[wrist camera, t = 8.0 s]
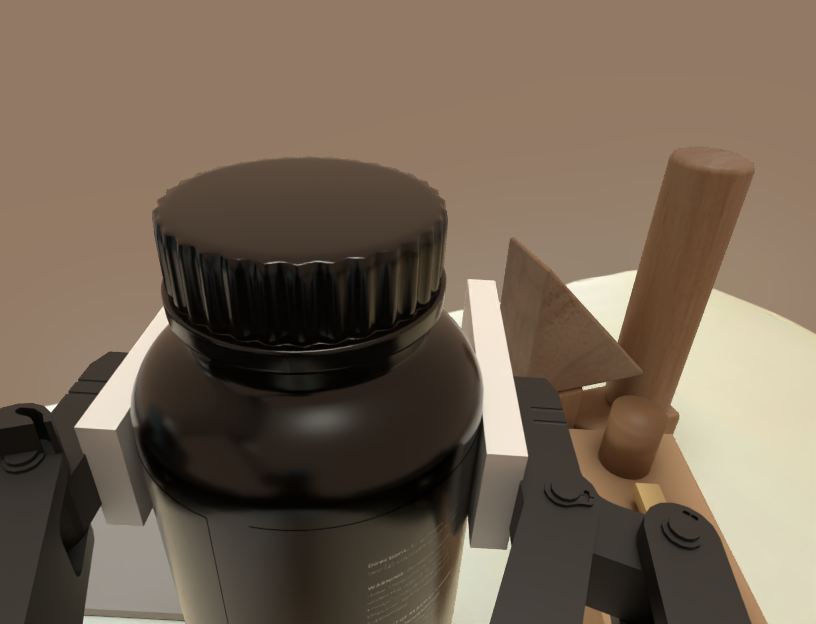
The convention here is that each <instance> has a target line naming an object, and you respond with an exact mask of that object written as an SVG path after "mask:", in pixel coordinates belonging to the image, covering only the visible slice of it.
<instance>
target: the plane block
mask: <svg viewBox="0 0 816 624" xmlns="http://www.w3.org/2000/svg"><path fill="white" fill-rule="evenodd" d="M667 423H668V416H667V414H666V412H665V411H664V410H663V409H662V408H661V407H660V406H659V405H658V404H656V403H655V402H653V401H651V400H649V399H646V398H643V397H640V396H633V395H627V396H621V397H619V398H617V399H616V400H615V401H614V402H613V404H612V408H611V411H610V414H609V418H608V421H607V425H606V428H605V431H601V430H582V429H569V432H570V435H571V439H572V442H573V446H574V450H575V453H576V457H577V460H578V464H579V467H580V471H581V473H582V476H583V477H585V478H586V479H587V480H588V481H589V482H590V483H592V485H593V486H594V488H595V490H596V491H597V493H598V494H599V496H601V497H602V498H604V499H606V500H607V501H609V502H611V503H614V504H616V505H619V506H621V507H624V508H628V509H631V510H634V511H637V512H640V513H643V514H646V512H647V511H648V509H649V508H650V507H651V506H653V505H656V504H658V503H677V504H680V505H683V506H687V507H689V508H691V509H693V510H694V511H696V512H698V513H700V514H701V515H702V516H704V517H705V518H706V519H707V520H708V521H709V522H710V523H711V524H712V525H713V526H714V528H715V530H716V531H717V533H718V535H719V536H720V538H721V541H722V544H723V547H724V549H725V552H726V555H727V558H728V560H729V563H730V566H731V569H732V571H733V574H734V577H735V579H736V582H737V585H738V588H739V590H740V593H741V596H742V599H743V601H744V604H745V607H746V609H747V612H748V615H749V618H750V620H751V623H752V624H768V623H767V621H766V619H765V617H764V616H763V614H762V612H761V610H760V608H759V606H758V604H757V602H756V600H755V598H754V596H753V594H752V592H751V590H750V588H749V586H748V584H747V582H746V580H745V578H744V576H743V574H742V572H741V570H740V568H739V566H738V564H737V562H736V560H735V558H734V556H733V554H732V552H731V550H730V548H729V546H728V544H727V542H726V540H725V538H724V536H723V534H722V532H721V530H720V528H719V526H718V524H717V522H716V520H715V518H714V516H713V514H712V512H711V510H710V508H709V506H708V504H707V502H706V500H705V498H704V496H703V494H702V492H701V490H700V489H699V487H698V485H697V483H696V481H695V479H694V477H693V475H692V473H691V471H690V469H689V467H688V465H687V463H686V461H685V459H684V457H683V455H682V453H681V451H680V449H679V447H678V445H677V443H676V441H675V439H674V437H673V435H672V434H664V431H665V429H666V426H667ZM583 624H611V618H610V615H608V614H606V613H603V612H600V611H598V610H595V609H593V608H590V607H587V606H585V611H584V618H583Z"/></svg>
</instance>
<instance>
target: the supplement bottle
mask: <svg viewBox="0 0 816 624" xmlns="http://www.w3.org/2000/svg"><path fill="white" fill-rule="evenodd" d="M152 220H153V227H154V235H155V241H156V246H157V251H158V256H159V260H160V266H161V270H162V275H163V280H162V284H161V295H162V301H163V305H164V310H165V314H166V317H167V320H168V323H169V324H168V325H167V326H166V327H165V328H164V329H163V331H162V332H161V333H160V334H159V335H158V336H157V338H156V339H155V341H154V342H153V343H152V345H151V346H150V348H149V350H148V351H147V353H146V355H145V357H144V359H143V361H142V363H141V365H140V368H139V371H138V373H137V376H136V379H135V382H134V386H133V391H132V395H131V409H130V415H131V423H132V430H133V435H134V439H135V445H136V449H137V453H138V456H139V460H140V463H141V467H142V471H143V474H144V478H145V481H146V485H147V488H148V492H149V496H150V499H151V503H152V506H153V510H154V513H155V517H156V520H157V524H158V527H159V531H160V535H161V538H162V542H163V545H164V549H165V552H166V556H167V559H168V563H169V566H170V570H171V574H172V577H173V581H174V584H175V588H176V591H177V595H178V598H179V602H180V606H181V609H182V613H183V616H184V620H185V623H186V624H451V622H452V616H453V611H454V605H455V599H456V592H457V586H458V579H459V572H460V565H461V558H462V551H463V545H464V538H465V531H466V524H467V517H468V510H469V503H470V496H471V490H472V483H473V476H474V469H475V463H476V456H477V449H478V442H479V436H480V429H481V422H482V419H481V418H482V410H483V392H484V387H483V379H482V373H481V369H480V365H479V362H478V359H477V357H476V355H475V352H474V350H473V348H472V346H471V344H470V342H469V340H468V339H467V337H466V335H465V334H464V332H463V331H462V329H461V328H460V327H459V326H458V324H457V323H456V322H455V320H454V319H453V318H452V317H451V316H450V315H449V314H448V313H447V312H446V311H445V310H444V309H443V306H444V300H445V291H446V273H445V270H444V260H445V248H446V238H447V224H448V218H447V211H446V206H445V200H444V199H443V198H441V197H440V196H439V194H438V190H436V189H434V188H432V187H430V186H429V184H428V183H427V182H426V181H423V180H420V179H418V178H416V177H415V176H414V175H412V174H409V173H405V172H401V171H399V170H398V169H396V168H391V167H385V166H382V165H379V164H376V163H368V162H362V161H358V160H350V159H339V158H333V157H330V158H329V157H324V158H320V157H283V158H277V159H261V160H256V161H249V162H240V163H236V164H233V165H228V166H222V167H217V168H215V169H213V170H211V171H206V172H202V173H198V174H197V175H195V176H194V177H192V178H188V179H185V180H182V181H181V182H180V183H179V184H178V185H177V186H175V187H172V188H170V189H168V190H167V191H166V195H164V196H163V197H161V198H160V199H158V200H157V207H156V208H155V209H154V210H153V212H152Z"/></svg>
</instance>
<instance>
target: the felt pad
mask: <svg viewBox="0 0 816 624" xmlns="http://www.w3.org/2000/svg"><path fill="white" fill-rule="evenodd" d="M91 525H92V528H93V531H94V539H95V540H94V547H93V554H92V561H91V568H90V575H89V582H88V589H87V596H86V603H85V610H84V615H95V616H113V617H132V618H150V619H168V620H184V616H183V613H182V609H181V606H180V602H179V598H178V595H177V591H176V588H175V584H174V581H173V577H172V574H171V570H170V566H169V563H168V559H167V556H166V552H165V549H164V545H163V542H162V538H161V535H160V531H159V527H158V524H157V520H156V517H155V513H154V510H153V508H152V510H151V512H150V514H149V516H148V518H147V520H146V522H145V525H144V527H143V526H127V525H111V524H107V523H106V520H105V517H104V514H103V511H102V508H101V507H100V509H99V510H98V512H97V514H96V515H95V517H94V519H93V520H92V522H91Z"/></svg>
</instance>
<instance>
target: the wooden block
mask: <svg viewBox="0 0 816 624" xmlns="http://www.w3.org/2000/svg"><path fill="white" fill-rule="evenodd" d="M753 175H754V163H753V162H752V161H751V160H749V159H748V158H746V157H744V156H741V155H739V154H737V153H733V152H730V151H726V150H722V149H716V148H709V147H686V148H679V149H677V150H674V152H673V153H672V154H671V155H670V158H669V161H668V165H667V168H666V171H665V175H664V179H663V182H662V186H661V189H660V193H659V196H658V200H657V204H656V207H655V211H654V214H653V218H652V221H651V225H650V229H649V232H648V236H647V240H646V243H645V247H644V250H643V254H642V257H641V261H640V264H639V268H638V271H637V275H636V279H635V282H634V286H633V289H632V293H631V296H630V300H629V304H628V307H627V311H626V314H625V318H624V321H623V325H622V329H621V332H620V336H619V339H618V343H617V342H616V341H615V339H614V338H613V337H612V336H611V335H610V334H609V333H608V332H607V331H606V330H605V328H604V327H603V326H602V325H601V324H600V323H599V322H598V321H597V320H596V319H595V317H594V316H593V315H592V314H591V313H590V312H589V311H588V310H587V309H586V308H585V306H584V305H583V304H582V303H581V302H580V301H579V300H578V299H577V298H576V297H575V295H574V294H573V293H572V292H571V291H570V290H569V289H568V288H567V287H566V286H565V284H564V283H563V282H562V281H561V280H560V279H559V278H558V277H557V276H556V275H555V274H554V272H553V271H552V270H551V269H550V268H549V267H548V266H546V265H545V264H544V263H543V262H542V261H541V260H539V259H538V258H537V257H536V256H535V255H534V254H533V253H532V252H530V251H529V250H528V249H527V248H526V247H525V246H523V245H522V244H521V243H520V242H519V241H518V240H517V239H515V238H511V239H510V243H509V249H508V256H507V263H506V270H505V277H504V284H503V290H502V297H501V304H500V310H501V316H502V321H503V326H504V332H505V337H506V342H507V347H508V353H509V358H510V363H511V368H512V374H513V376H518V377H533V378H546V379H547V380H548V381H549V383H550V384H551V385H552V386H553V387H554V388H555V390H556V391H557V392H558V393H559V397H560V400H561V404H562V407H563V412H564V414H565V418H566V421H567V423H566V424H567V425H568V428H569V429H582V430H601V431H605V428H606V425H607V421H608V418H609V414H610V411H611V408H612V404H613V402H614V401H615V400H616V399H617V398H619V397H621V396H627V395H633V396H640V397H643V398H646V399H649V400H651V401H653V402H655V403H656V404H658V405H659V406H660V407H661V408H662V409H663V410H664V411H665V412H666V414H667V416H668V423H667V426H666V429H665V431H664V434H672V435H673V433H674V431H675V428H676V425H677V423H678V420H679V413H678V412H677V411H676V410H675V409H674V408H673V407H672V406H671V405H670V404H671V401H672V398H673V396H674V393H675V390H676V387H677V385H678V382H679V379H680V376H681V374H682V371H683V368H684V365H685V363H686V360H687V357H688V354H689V352H690V349H691V346H692V343H693V340H694V338H695V335H696V332H697V329H698V327H699V324H700V321H701V318H702V316H703V313H704V310H705V307H706V305H707V302H708V299H709V296H710V294H711V291H712V288H713V285H714V282H715V280H716V277H717V274H718V271H719V269H720V266H721V263H722V260H723V258H724V255H725V252H726V249H727V247H728V244H729V241H730V238H731V236H732V233H733V230H734V227H735V224H736V222H737V219H738V216H739V213H740V211H741V208H742V205H743V202H744V200H745V197H746V194H747V191H748V189H749V186H750V183H751V180H752V178H753ZM603 382H606V386H603V387H598V388H593V389H589V390H584V391H583V390H582V387H583V386H588V385H593V384H598V383H603Z"/></svg>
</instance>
